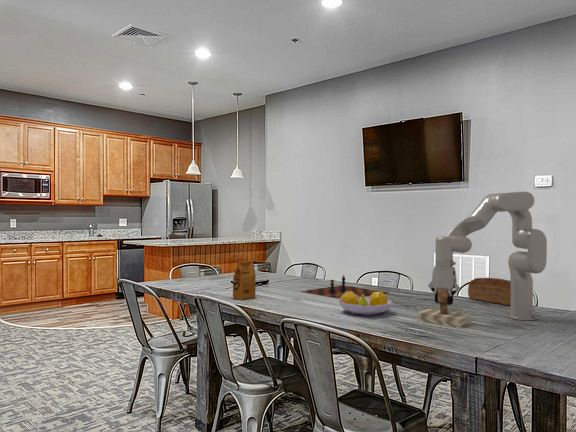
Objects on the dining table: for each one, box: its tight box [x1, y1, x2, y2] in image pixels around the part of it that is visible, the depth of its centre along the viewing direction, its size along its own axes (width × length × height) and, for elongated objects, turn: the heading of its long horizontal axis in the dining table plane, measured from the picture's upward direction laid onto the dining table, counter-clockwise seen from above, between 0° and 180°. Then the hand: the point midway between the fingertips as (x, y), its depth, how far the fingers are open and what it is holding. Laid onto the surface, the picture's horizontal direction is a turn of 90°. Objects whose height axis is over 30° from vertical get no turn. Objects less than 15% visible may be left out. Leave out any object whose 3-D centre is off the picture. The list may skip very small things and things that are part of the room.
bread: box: [467, 277, 511, 306], centre depth 266 cm, size 12×31×14 cm, turn 34°
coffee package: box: [232, 260, 257, 301], centre depth 274 cm, size 10×12×22 cm
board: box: [416, 308, 472, 329], centre depth 213 cm, size 20×12×4 cm, turn 46°
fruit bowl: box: [337, 291, 392, 316], centre depth 234 cm, size 28×27×11 cm
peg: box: [437, 288, 449, 313], centre depth 213 cm, size 5×5×11 cm
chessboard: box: [299, 275, 389, 300], centre depth 299 cm, size 40×40×11 cm
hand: (443, 303), depth 213 cm, fingers closed on peg, 5 cm apart
